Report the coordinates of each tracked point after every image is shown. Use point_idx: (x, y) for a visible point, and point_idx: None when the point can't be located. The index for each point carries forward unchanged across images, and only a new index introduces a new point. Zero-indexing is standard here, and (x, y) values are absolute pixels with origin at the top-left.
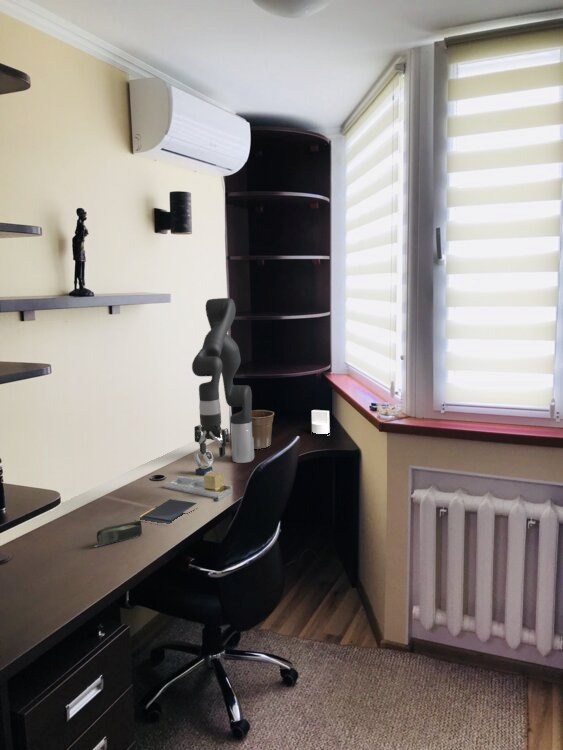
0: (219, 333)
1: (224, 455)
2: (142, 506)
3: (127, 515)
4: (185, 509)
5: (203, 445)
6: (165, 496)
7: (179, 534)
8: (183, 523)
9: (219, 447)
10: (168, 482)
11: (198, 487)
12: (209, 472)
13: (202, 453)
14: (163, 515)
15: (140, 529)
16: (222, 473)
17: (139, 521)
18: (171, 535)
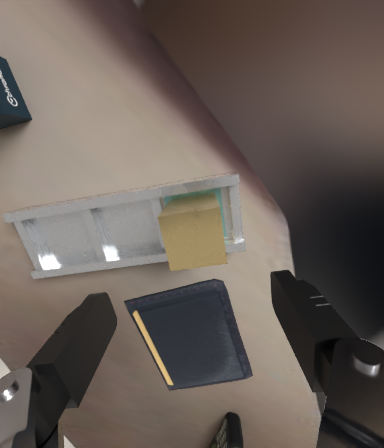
0: None
1: (288, 271)
2: (117, 350)
3: (139, 385)
4: (226, 332)
5: (77, 377)
6: (98, 292)
7: (296, 387)
8: (266, 358)
9: (320, 390)
10: (44, 273)
11: (119, 215)
12: (163, 238)
13: (115, 329)
14: (213, 372)
15: (241, 431)
16: (220, 212)
17: (237, 446)
18: (286, 395)
